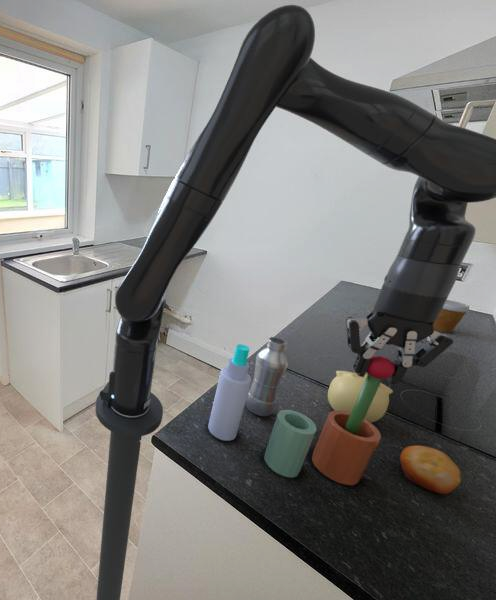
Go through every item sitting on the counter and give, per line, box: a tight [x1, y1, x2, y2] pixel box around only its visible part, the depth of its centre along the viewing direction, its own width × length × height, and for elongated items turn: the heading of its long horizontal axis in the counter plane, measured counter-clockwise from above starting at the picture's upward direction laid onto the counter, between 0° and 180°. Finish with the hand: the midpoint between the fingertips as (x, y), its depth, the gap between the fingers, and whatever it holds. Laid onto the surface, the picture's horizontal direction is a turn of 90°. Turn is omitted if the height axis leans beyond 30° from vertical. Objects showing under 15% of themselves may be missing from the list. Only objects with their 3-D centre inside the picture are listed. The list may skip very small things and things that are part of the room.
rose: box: [344, 355, 395, 435], centre depth 58 cm, size 4×4×23 cm
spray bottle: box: [207, 344, 252, 442], centre depth 67 cm, size 6×6×22 cm
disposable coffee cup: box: [433, 299, 470, 334], centre depth 129 cm, size 10×10×12 cm
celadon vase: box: [263, 409, 317, 478], centre depth 61 cm, size 6×6×11 cm
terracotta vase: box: [311, 410, 382, 486], centre depth 61 cm, size 8×8×11 cm
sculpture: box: [327, 370, 394, 424], centre depth 77 cm, size 11×12×11 cm
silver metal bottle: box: [245, 336, 289, 417], centre depth 74 cm, size 6×7×20 cm
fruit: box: [399, 444, 462, 495], centre depth 60 cm, size 8×8×8 cm
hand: (374, 377), depth 55 cm, fingers closed on rose, 4 cm apart
